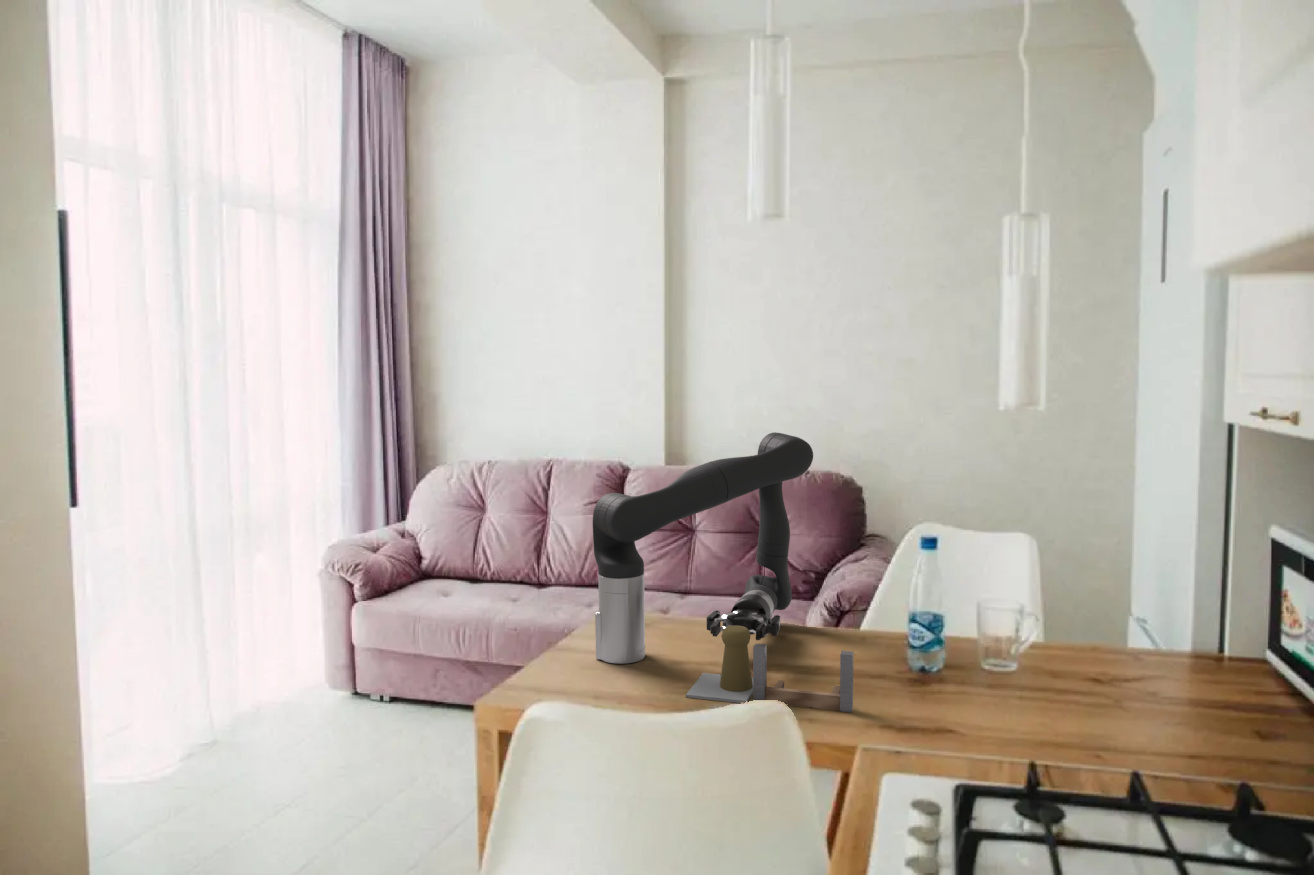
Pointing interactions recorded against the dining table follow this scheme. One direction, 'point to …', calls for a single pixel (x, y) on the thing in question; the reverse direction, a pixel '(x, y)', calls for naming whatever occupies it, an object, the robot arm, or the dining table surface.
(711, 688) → the grey rubber mat
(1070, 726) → the dining table surface
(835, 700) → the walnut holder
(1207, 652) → the dining table surface
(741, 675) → the cork
